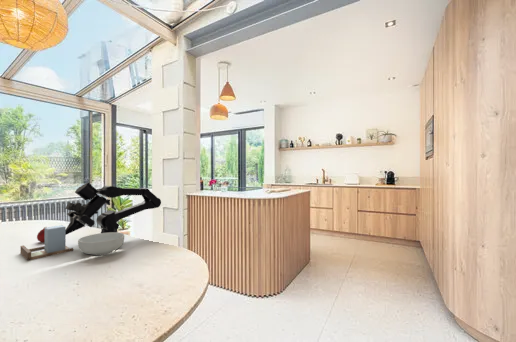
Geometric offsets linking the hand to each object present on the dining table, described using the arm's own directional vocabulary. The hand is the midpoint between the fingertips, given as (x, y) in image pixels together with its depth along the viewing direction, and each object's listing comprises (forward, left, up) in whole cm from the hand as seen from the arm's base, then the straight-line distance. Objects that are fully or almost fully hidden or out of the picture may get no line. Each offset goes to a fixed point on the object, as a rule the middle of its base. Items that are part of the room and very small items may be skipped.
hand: (64, 234), depth 107 cm
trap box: (+3, +5, -7) cm, 9 cm away
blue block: (+2, +3, -6) cm, 7 cm away
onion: (+17, -9, -7) cm, 21 cm away
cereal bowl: (-19, +2, -7) cm, 20 cm away
